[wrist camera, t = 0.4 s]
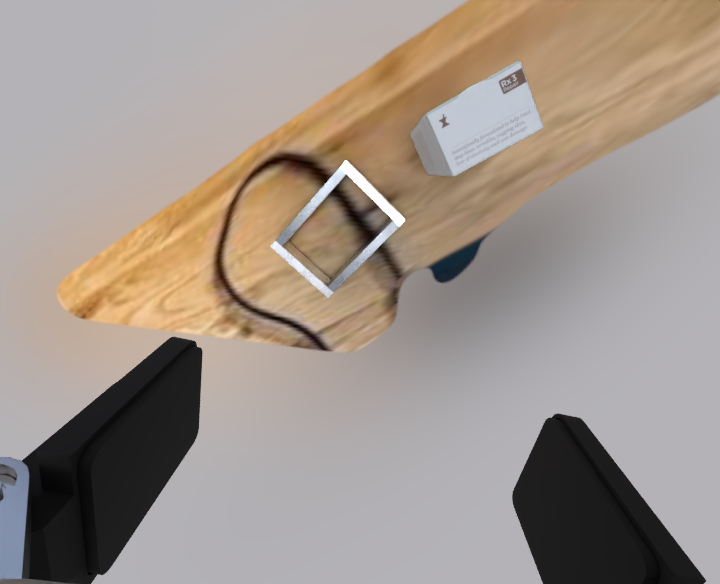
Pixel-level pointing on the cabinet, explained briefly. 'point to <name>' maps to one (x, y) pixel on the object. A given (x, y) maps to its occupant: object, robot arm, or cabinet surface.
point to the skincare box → (477, 123)
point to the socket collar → (360, 257)
